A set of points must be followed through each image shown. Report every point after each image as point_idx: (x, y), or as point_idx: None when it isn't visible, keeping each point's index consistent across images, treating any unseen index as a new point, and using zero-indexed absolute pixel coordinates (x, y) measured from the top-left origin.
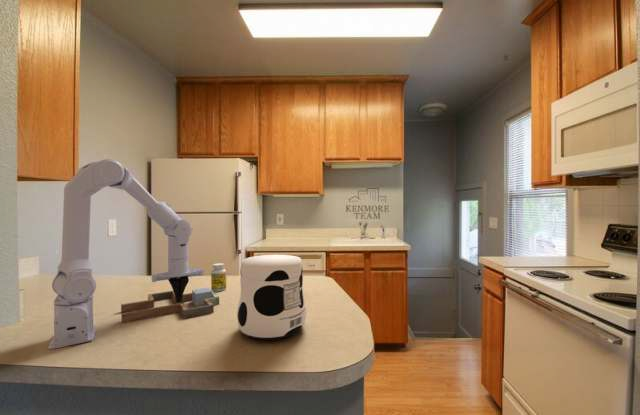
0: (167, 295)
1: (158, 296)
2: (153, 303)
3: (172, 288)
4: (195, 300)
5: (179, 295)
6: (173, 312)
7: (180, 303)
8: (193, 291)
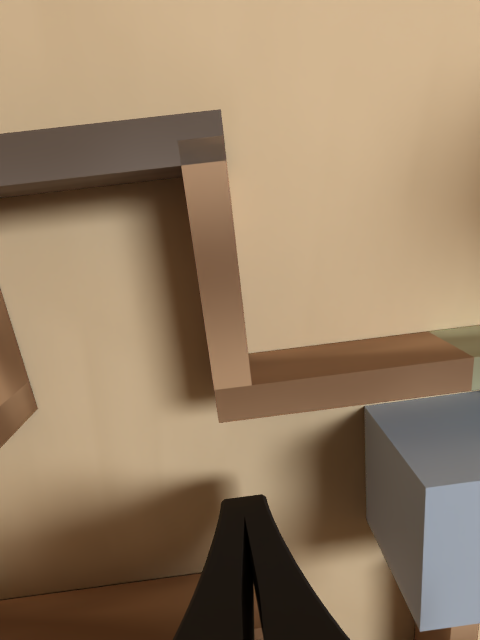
0: (128, 177)
1: (16, 187)
2: (13, 431)
3: (178, 634)
4: (385, 552)
5: (259, 616)
6: None
7: (256, 632)
8: (423, 544)
